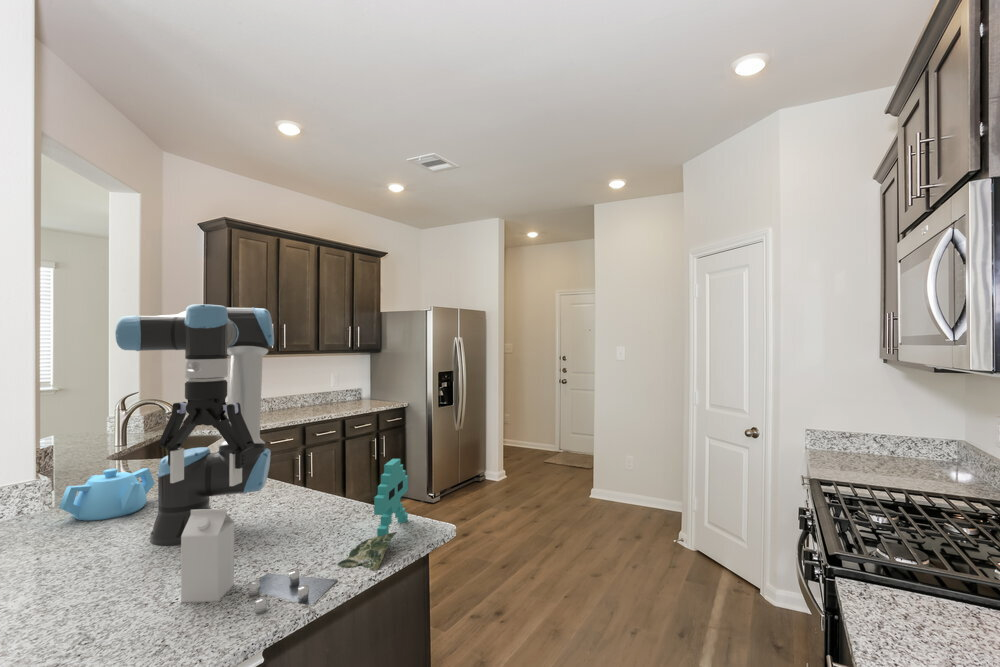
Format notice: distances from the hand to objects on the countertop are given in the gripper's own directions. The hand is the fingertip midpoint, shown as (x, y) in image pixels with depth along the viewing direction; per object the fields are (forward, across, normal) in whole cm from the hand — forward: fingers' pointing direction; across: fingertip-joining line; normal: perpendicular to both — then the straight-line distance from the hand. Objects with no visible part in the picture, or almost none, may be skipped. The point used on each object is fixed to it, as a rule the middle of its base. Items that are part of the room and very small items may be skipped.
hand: (206, 482), depth 98 cm
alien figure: (+25, +24, +40) cm, 53 cm away
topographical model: (+26, +22, +23) cm, 41 cm away
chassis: (+25, +15, +2) cm, 29 cm away
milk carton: (+25, 0, +1) cm, 25 cm away
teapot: (+25, -67, +39) cm, 81 cm away
